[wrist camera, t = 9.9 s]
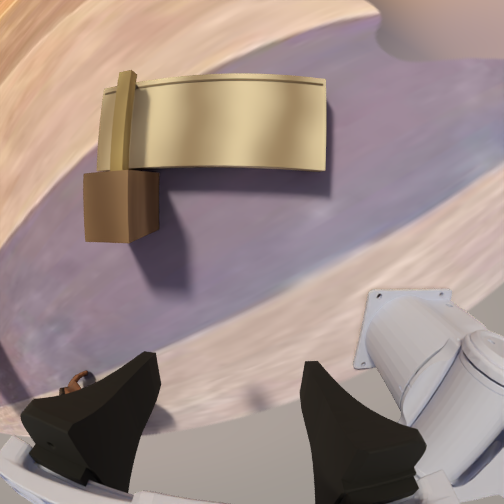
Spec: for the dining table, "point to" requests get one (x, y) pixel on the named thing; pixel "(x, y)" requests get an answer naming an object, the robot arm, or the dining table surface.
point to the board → (222, 123)
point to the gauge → (121, 183)
